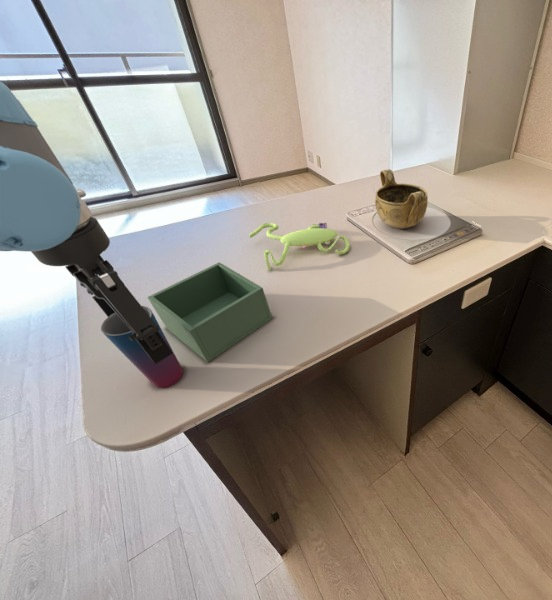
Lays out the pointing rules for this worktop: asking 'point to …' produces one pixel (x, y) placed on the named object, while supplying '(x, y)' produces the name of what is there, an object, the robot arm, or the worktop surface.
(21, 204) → the robot arm
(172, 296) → the bin
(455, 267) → the worktop surface
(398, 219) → the ceramic bowl
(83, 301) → the worktop surface
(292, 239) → the figurine
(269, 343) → the worktop surface
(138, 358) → the cup
